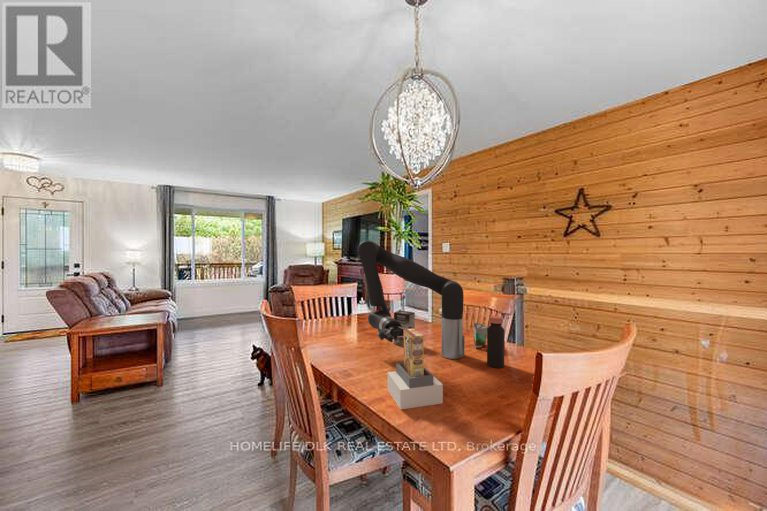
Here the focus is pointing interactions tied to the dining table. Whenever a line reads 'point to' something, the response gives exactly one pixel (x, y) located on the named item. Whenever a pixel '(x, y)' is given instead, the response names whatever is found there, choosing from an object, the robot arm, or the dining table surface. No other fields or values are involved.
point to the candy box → (413, 353)
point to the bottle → (495, 343)
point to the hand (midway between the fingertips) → (403, 338)
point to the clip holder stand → (414, 388)
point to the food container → (480, 335)
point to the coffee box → (404, 323)
